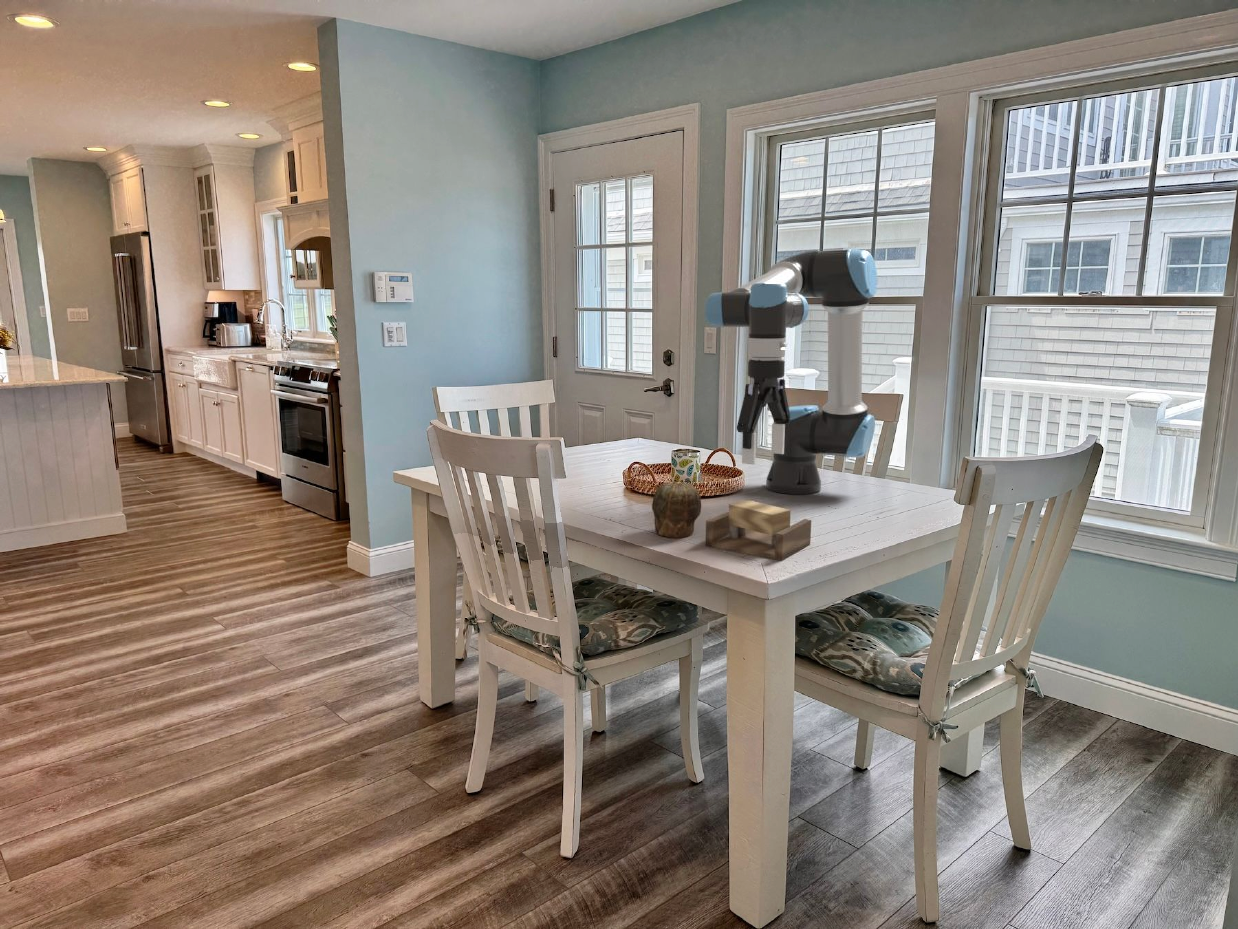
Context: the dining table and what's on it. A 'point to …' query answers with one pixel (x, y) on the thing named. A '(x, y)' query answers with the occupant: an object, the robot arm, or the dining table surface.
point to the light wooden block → (759, 517)
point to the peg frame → (757, 538)
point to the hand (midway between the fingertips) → (763, 458)
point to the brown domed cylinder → (676, 509)
